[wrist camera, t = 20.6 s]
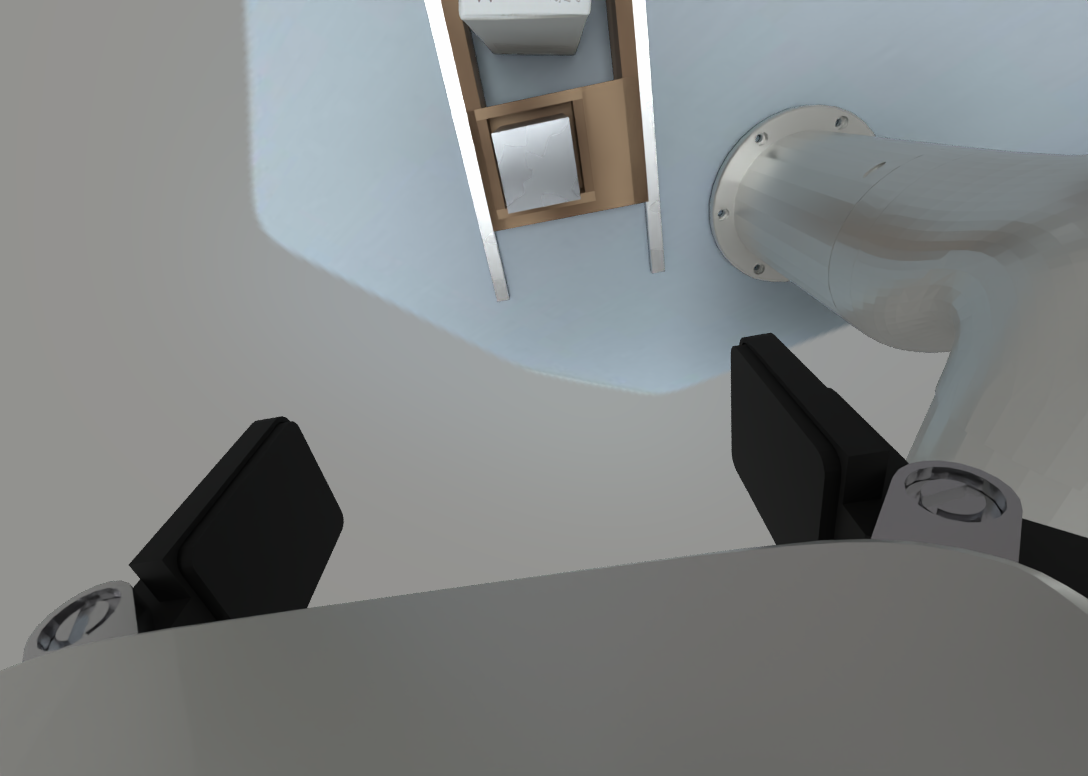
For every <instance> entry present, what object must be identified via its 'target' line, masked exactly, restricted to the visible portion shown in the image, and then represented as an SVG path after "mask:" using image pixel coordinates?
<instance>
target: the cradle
mask: <svg viewBox="0 0 1088 776" xmlns="http://www.w3.org/2000/svg"><path fill="white" fill-rule="evenodd" d="M440 1H441V5H442V10H443V14H444V18H445V23H446V27H447V32H448V36H449V40H450V45H451V49H452V53H453V58H454V62H455V66H456V71H457V75H458V79H459V84H460V88H461V92H462V97H463V101H464V106H465V110H466V114H467V119H468V123H469V127H470V132H471V136H472V140H473V145H474V149H475V153H476V158H477V162H478V166H479V171H480V175H481V180H482V184H483V188H484V193H485V197H486V201H487V206H488V210H489V214H490V219H491V223H492V227H493V232H494V231H499V230H504V229H510V228H515V227H520V226H525V225H530V224H535V223H540V222H546V221H551V220H556V219H561V218H566V217H571V216H576V215H582V214H587V213H592V212H597V211H602V210H607V209H613V208H618V207H623V206H628V205H633V204H638V203H643V202H649V197H648V184H647V172H646V160H645V148H644V136H643V123H642V111H641V99H640V87H639V75H638V62H637V50H636V38H635V26H634V13H633V1H632V0H606V7H607V17H608V27H609V36H610V46H611V56H612V66H613V75H614V80H612V81H607V82H603V83H598V84H593V85H589V86H584V87H579V88H574V89H570V90H565V91H560V92H556V93H551V94H546V95H542V96H537V97H532V98H528V99H523V100H518V101H514V102H509V103H504V104H500V105H495V106H490V107H486V102H485V98H484V93H483V88H482V84H481V79H480V74H479V69H478V65H477V60H476V55H475V50H474V46H473V41H472V36H471V32H470V27H469V26H468V25H467V24H466V23H465V22H464V21H463V20H461V18H460V16H459V0H440ZM560 113H563V114H564V115H566V116H568V117H569V122H570V128H571V135H572V142H573V149H574V156H575V162H576V169H577V176H578V183H579V189H580V196H581V199H579V200H575V201H570V202H565V203H560V204H555V205H550V206H545V207H540V208H535V209H530V210H525V211H520V212H515V213H510V214H509V213H508V209H507V204H506V199H505V195H504V190H503V186H502V181H501V176H500V172H499V167H498V162H497V158H496V153H495V149H494V144H493V139H492V135H491V134H492V133H493V132H494V131H495V130H497V129H498V128H499V127H500V126H504V125H509V124H513V123H518V122H523V121H527V120H532V119H537V118H541V117H546V116H551V115H555V114H560Z"/></svg>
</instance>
